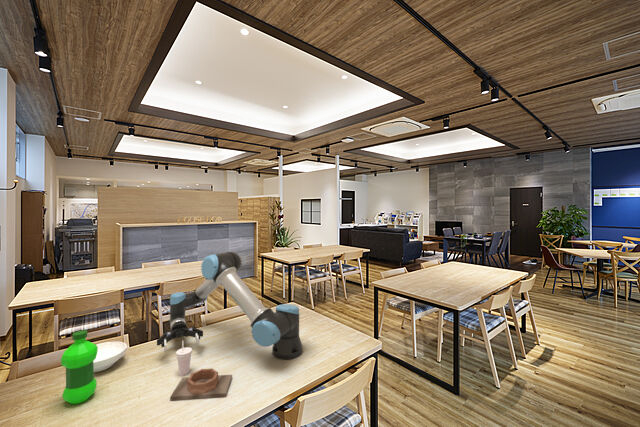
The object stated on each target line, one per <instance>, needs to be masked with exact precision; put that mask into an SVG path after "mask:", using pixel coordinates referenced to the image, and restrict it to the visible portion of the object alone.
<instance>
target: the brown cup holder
mask: <svg viewBox="0 0 640 427" xmlns="http://www.w3.org/2000/svg"><path fill="white" fill-rule="evenodd" d="M232 380H233V374H221V375H219V371H217V370H215V369H214V368H201V369H198V370H196V371H193V373H192V372H191V373H190V375H189V377H188V376H187V377H181V379H180V381H179V382H178V384H177V385H176V386H175V389H174V390H173V391H172V393H171V395H170V397H169V401H170V402H174V401H175V402H176V401H189V400H202V399H203V400H204V399H214V398H215V399H216V398H227V394H228V392H229V389H230V385H231V383H232Z"/></svg>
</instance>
